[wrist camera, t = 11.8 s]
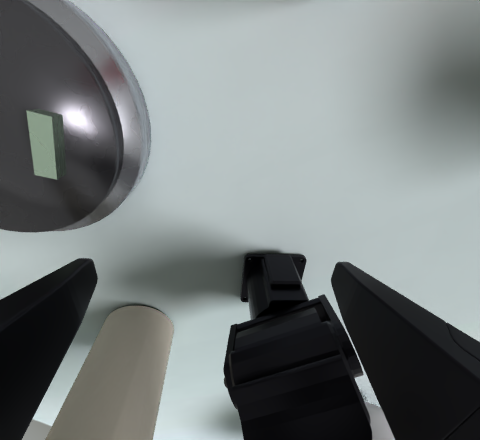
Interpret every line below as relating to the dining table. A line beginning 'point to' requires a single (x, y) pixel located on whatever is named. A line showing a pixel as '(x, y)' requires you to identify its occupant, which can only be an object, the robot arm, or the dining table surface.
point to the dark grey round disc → (123, 94)
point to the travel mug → (119, 380)
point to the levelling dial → (52, 125)
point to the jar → (379, 423)
